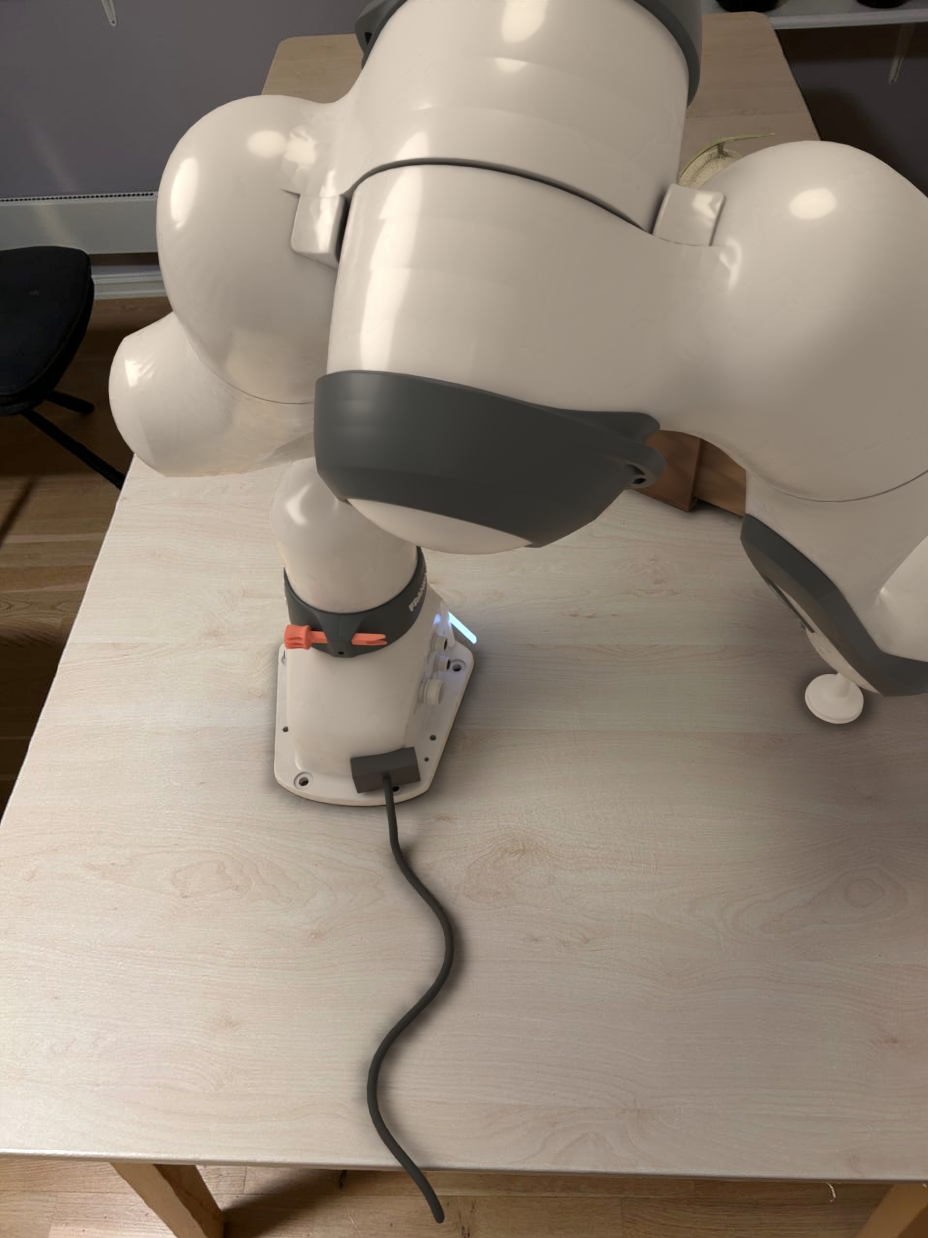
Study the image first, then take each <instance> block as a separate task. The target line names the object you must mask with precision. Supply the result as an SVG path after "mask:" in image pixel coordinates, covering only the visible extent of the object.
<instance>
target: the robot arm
mask: <svg viewBox="0 0 928 1238" xmlns="http://www.w3.org/2000/svg"><path fill="white" fill-rule="evenodd" d="M354 33H355V36H356V39H357V42H358V43H357V44H358V45H359V47H360V49H361V51H362V53H363V56H362V58H361V63H360V67H361V71H360V74H359V75H358V77H357V80H355V82H354V84H353V85H352V86H351V88H350V90H349V91H348V92H347V93H346V94H345V95H343V96H342V97H340V98H339V99H337V100H336V101H333V102H325V103H321V102H316V101H313V100H308V99H304V98H301V97H295V96H289V95H283V94H260V95H259V94H258V95H251V96H246V97H243V98H239V99H236V100H232V101H230V102H227V103H225V104H223V105H220V106H218V107H216V108H215V109H212V110H211V111H209V112H208V113H206V114H205V115H203V116H202V117H201V118H200V119H199V120H197V121H196V122H195V123H194V124H193V125H191V126H190V127H189V128H188V130H187V131H186V132H185V133H184V135H182V137H181V138H180V139H179V140H178V142H177V144H176V145H175V147H174V148H173V150H172V152H171V154H170V155H169V157H168V160H167V162H166V165H165V168H164V170H163V172H162V175H161V179H160V183H159V187H158V191H157V200H156V201H157V202H156V220H155V221H156V222H155V236H156V247H157V255H158V264H159V269H160V272H161V273H160V274H161V278H162V281H163V285H164V289H165V294H166V297H167V299H168V301H169V304H170V306H171V309H172V311H171V312H169V313H167V315H165V316H164V317H162V318H160V319H159V320H157V321H154V322H153V323H151V324H149V325H147V326H145V327H143V328H141V329H139V330H137V331H135V332H132V333H130V334H129V335H126V336H125V337H124V338H123V339H122V341H121V342H120V344H119V346H118V348H117V350H116V352H115V355H114V356H113V359H112V363H111V365H110V371H109V377H108V395H109V396H108V399H109V405H110V410H111V413H112V417H113V420H114V423H115V425H116V428H117V430H118V432H119V433H120V435H121V437H122V439H123V441H124V442H125V443H126V445H127V447H129V449H130V451H132V452H133V453H134V455H135V456H136V457H137V458H138V459H139V460H140V461H142V462H143V464H145V465H146V466H147V467H149V468H151V469H152V470H153V471H155V472H156V473H158V474H159V475H161V476H164V477H165V478H169V479H171V478H172V479H173V478H205V477H220V476H221V477H223V476H233V475H242V474H246V473H251V472H254V471H258V470H264V469H268V468H272V467H276V466H281V465H284V464H288V463H290V464H288V466H287V467H286V468H285V469H284V471H283V472H282V473H281V475H280V477H279V479H278V481H277V483H276V485H275V488H274V490H273V492H272V495H271V499H270V503H269V508H268V517H269V525H270V528H271V529H270V530H271V531H272V534H273V535H272V536H273V537H274V541H275V543H276V546H277V547H276V548H277V550H278V551H279V555H280V556H279V557H280V558H281V561H282V564H283V581H284V583H283V591H284V601H285V604H286V627H285V629H284V635H283V637H284V638H283V643H282V644H281V645H280V647H279V649H278V663H277V664H278V665H277V686H276V687H277V688H276V709H275V710H276V711H275V738H274V757H273V758H274V763H273V764H274V765H273V774H274V777H275V781H276V782H277V784H279V785H280V786H281V787H283V789H285V790H287V791H289V792H290V793H292V794H294V795H295V796H299V797H301V798H304V799H307V800H311V801H314V802H319V803H325V804H329V805H338V806H339V805H340V806H353V807H354V806H356V807H357V806H358V807H371V806H372V807H374V806H384V805H385V809H386V815H387V825H388V833H389V834H388V835H389V836H388V837H389V844H390V849H391V851H392V854H393V857H394V860H395V863H396V864H397V866H398V868H399V870H400V871H401V873H402V875H403V876H404V877H405V879H406V880H407V882H408V883H409V884H410V885H411V887H412V888H413V889H414V890H415V892H417V894H418V895H419V896H420V897H421V898H422V899H423V900H424V902H425V903H426V904H427V905H428V906H429V907H430V909H431V910H432V912H433V913H434V914H435V916H436V918H437V920H438V921H439V923H440V926H441V928H442V931H443V936H444V943H445V944H444V945H445V948H444V949H445V950H444V958H443V963H442V966H441V968H440V971H439V973H438V975H437V977H436V978H435V979H434V982H433V983H432V985H431V986H430V987H429V989H427V991H426V992H425V994H424V995H423V996H422V997H421V998H419V1000H418V1001H417V1002H416V1003H415V1004H414V1005H413V1007H411V1008H410V1009H409V1010H408V1011H407V1012H406V1013H405V1014H404V1015H403V1016H402V1017H401V1018H400V1019H399V1020H398V1021H397V1023H396V1024H395V1025H394V1026H393V1027H392V1028H391V1029H390V1030H389V1032H388V1033H387V1034H386V1035H385V1036H384V1038H383V1039H382V1040H381V1042H380V1044H379V1045H378V1047H377V1049H376V1051H375V1053H374V1055H373V1057H372V1059H371V1063H370V1066H369V1069H368V1073H367V1081H366V1103H367V1109H368V1112H369V1115H370V1118H371V1121H372V1124H373V1126H374V1128H375V1130H376V1132H377V1134H378V1136H379V1137H380V1139H381V1141H382V1142H383V1144H384V1146H386V1148H387V1149H388V1150H389V1152H390V1153H391V1155H393V1158H395V1159H396V1161H397V1162H398V1163H399V1164H400V1165H401V1167H402V1168H403V1169H404V1170H405V1172H406V1173H407V1174H408V1175H409V1176H410V1178H411V1179H412V1180H413V1182H414V1183H415V1184H416V1186H417V1187H418V1189H419V1190H420V1192H421V1193H422V1195H423V1196H424V1198H425V1200H426V1203H427V1204H428V1207H429V1208H430V1211H431V1214H432V1216H433V1218H434V1221H435V1222H436V1223H437V1224H443V1223H444V1221H445V1218H446V1215H445V1212H444V1210H443V1207H442V1204H441V1202H440V1200H439V1197H438V1196H437V1194H436V1192H435V1190H434V1188H433V1187H432V1185H431V1184H430V1182H429V1180H428V1179H427V1177H426V1176H425V1175H424V1173H423V1172H422V1171H421V1169H420V1168H419V1167H418V1165H417V1164H416V1163H415V1162H414V1161H413V1159H412V1158H411V1157H410V1156H409V1155H408V1154H407V1152H406V1151H405V1150H404V1149H403V1148H402V1147H401V1145H400V1144H399V1143H398V1141H397V1139H395V1137H394V1136H393V1135H392V1133H391V1132H390V1129H388V1127H387V1126H386V1123H385V1121H384V1119H383V1117H382V1113H381V1111H380V1108H379V1102H378V1092H377V1087H378V1079H379V1072H380V1069H381V1066H382V1063H383V1061H384V1059H385V1057H386V1055H387V1053H388V1051H389V1050H390V1049H391V1047H392V1045H393V1044H394V1043H395V1041H396V1040H397V1039H398V1038H399V1037H400V1035H401V1034H402V1033H403V1032H404V1031H405V1030H406V1029H407V1028H408V1027H409V1026H410V1025H411V1024H412V1023H413V1022H414V1021H415V1020H416V1019H417V1018H418V1017H419V1016H420V1015H421V1014H422V1012H423V1011H424V1010H425V1009H426V1008H427V1007H428V1006H429V1005H430V1004H431V1003H432V1002H433V1001H434V999H435V998H436V997H437V996H438V994H439V993H440V992H441V990H442V989H443V987H444V985H445V983H446V982H447V980H448V978H449V976H450V973H451V970H452V967H453V964H454V958H455V957H454V956H455V937H454V933H453V928H452V924H451V921H450V918H449V917H448V915H447V913H446V911H445V910H444V908H443V907H442V906H441V904H440V903H439V902H438V900H437V899H436V898H435V897H434V896H433V895H432V893H431V892H430V891H429V890H428V889H427V888H426V886H424V884H423V883H422V882H421V881H420V880H419V879H418V877H417V876H416V875H415V873H414V872H413V871H412V869H411V867H410V866H409V865H408V863H407V860H406V858H405V857H404V854H403V852H402V850H401V846H400V842H399V831H398V829H399V828H398V820H397V812H396V805H395V804H396V803H397V804H398V803H400V802H401V803H402V802H404V801H407V800H410V799H413V798H416V797H418V796H419V795H422V794H423V793H425V792H427V791H428V790H429V788H431V787H430V786H431V784H432V783H433V780H434V777H435V775H436V772H437V769H438V766H439V763H440V761H441V758H442V755H443V752H444V750H445V748H446V747H445V746H446V743H447V741H448V738H449V736H450V734H451V730H452V728H453V725H454V722H455V719H456V717H457V713H458V711H459V708H460V706H461V702H462V699H463V697H464V695H465V691H466V689H467V686H468V683H469V680H470V677H471V675H472V672H473V669H474V666H475V660H474V656H473V653H472V651H471V650H470V649H469V648H468V647H466V646H465V645H464V644H462V643H461V642H459V641H457V640H456V639H455V635H454V629H453V626H454V627H455V628H456V629H458V631H460V632H461V633H462V634H463V635H464V636H465V637H466V638H467V639H468V640H470V642H472V644H476V642H477V637H476V635H475V634H473V633H472V632H471V631H470V630H469V629H468V628H467V627H466V626H465V625H463V624H462V622H461V621H459V619H457V618H456V617H455V616H454V615H453V614H452V613H451V612H450V611H449V607H448V603H447V602H446V601H445V600H444V598H443V597H442V596H441V595H440V594H438V592H437V591H436V590H435V589H434V588H433V587H432V586H431V584H430V583H429V582H428V575H427V573H428V571H427V563H426V558H425V556H424V553H423V550H422V548H424V549H426V550H431V551H435V552H439V553H445V554H449V555H466V556H476V555H477V556H478V555H493V554H498V553H503V552H509V551H513V550H517V549H520V548H528V549H529V548H531V549H541V548H543V547H545V546H549V545H551V544H552V543H553V544H554V543H555V542H557V541H559V540H561V539H563V538H565V537H567V536H569V535H571V534H574V533H575V532H577V531H578V530H580V529H582V528H584V527H585V526H587V525H589V524H590V523H592V522H594V521H595V520H597V519H598V518H599V517H600V516H601V515H602V514H603V513H604V512H605V511H606V510H607V509H608V508H609V507H610V506H611V505H612V504H613V503H614V502H615V501H616V500H617V499H618V498H619V497H620V495H621V494H622V493H623V492H624V491H625V490H634V489H637V488H644V487H648V486H651V485H653V484H654V483H655V482H656V481H657V480H658V479H659V477H660V476H661V474H662V473H663V471H664V470H665V468H666V460H665V458H664V456H663V455H662V454H661V453H659V452H658V451H657V450H656V449H654V448H652V447H650V446H648V445H645V444H643V443H644V442H645V441H646V440H647V439H648V438H650V437H651V436H652V435H654V434H655V433H657V432H658V431H659V430H669V431H678V432H683V433H687V434H690V435H694V436H696V437H699V438H702V439H704V440H706V441H708V442H710V443H711V444H713V445H715V446H716V447H718V448H719V449H721V450H722V451H723V452H724V453H726V454H727V455H728V456H729V457H730V458H731V459H733V460H734V461H735V462H736V463H737V464H738V465H740V466H741V467H742V468H744V469H745V470H746V505H745V513H744V514H743V517H742V519H741V520H742V521H741V527H740V535H739V540H740V543H741V546H742V547H743V550H744V552H745V554H746V556H747V558H748V560H749V561H750V563H751V564H752V566H753V568H754V569H755V570H756V572H757V573H758V574H759V576H760V577H761V578H762V580H763V581H764V582H765V584H766V585H767V586H768V587H769V589H770V590H771V591H772V592H773V593H774V594H775V596H776V597H777V598H778V599H779V600H780V601H781V602H782V604H784V606H785V607H786V608H787V609H788V611H789V612H791V614H792V615H793V616H794V617H795V618H796V620H797V621H798V622H799V624H800V628H801V629H802V630H803V631H805V633H806V636H807V637H808V638H807V639H808V640H809V642H810V643H811V645H812V646H813V648H814V649H815V651H816V652H817V653H818V654H819V656H820V657H821V659H823V660H824V661H825V662H826V663H827V664H828V665H829V666H830V667H831V668H832V669H834V671H836V672H837V673H838V672H839V673H840V674H841V675H842V676H844V677H845V678H847V679H848V680H850V681H851V682H853V683H855V684H856V685H857V686H858V687H860V688H862V689H865V690H866V691H869V692H873V693H876V694H880V695H882V696H883V697H885V698H897V697H898V698H899V697H911V696H917V695H923V694H928V197H927V196H926V195H925V193H923V192H922V191H921V190H920V189H918V187H916V185H914V184H913V183H912V182H911V181H909V180H908V179H907V178H906V177H904V176H903V175H902V174H900V173H899V172H898V171H897V170H895V169H894V168H892V167H891V166H890V165H888V164H887V163H885V162H884V161H883V160H881V159H879V158H877V157H876V156H875V155H873V154H871V153H869V152H866V151H864V150H861V149H859V148H857V147H854V146H852V145H849V144H844V143H839V142H834V141H827V140H826V141H825V140H798V141H788V142H783V143H779V144H776V145H772V146H769V147H765V148H763V149H759V150H757V151H755V152H752V153H749V154H746V155H744V156H743V158H741V159H739V160H737V161H735V162H733V163H731V164H730V165H728V166H727V167H725V168H724V169H722V170H721V171H719V172H718V173H716V174H715V175H714V176H713V177H711V178H710V179H709V180H708V181H706V182H705V183H704V184H703V185H702V186H701V187H700V188H699V189H692V188H688V187H684V186H680V185H678V184H679V179H680V175H679V174H680V173H681V164H682V154H683V147H684V140H685V132H686V123H687V110H688V109H689V107H690V105H691V104H692V103H693V101H694V99H695V97H696V95H697V92H698V90H699V85H700V81H701V67H702V52H703V12H702V0H372V1H371V2H369V3H368V4H367V5H366V6H365V7H364V9H363V10H362V11H361V13H360V14H359V16H358V17H357V18H356V20H355V21H354ZM455 670H459V671H455ZM304 782H308V783H307V784H306V785H302V784H303V783H304ZM394 788H398V790H396V791H394V790H393V789H394Z"/></svg>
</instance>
